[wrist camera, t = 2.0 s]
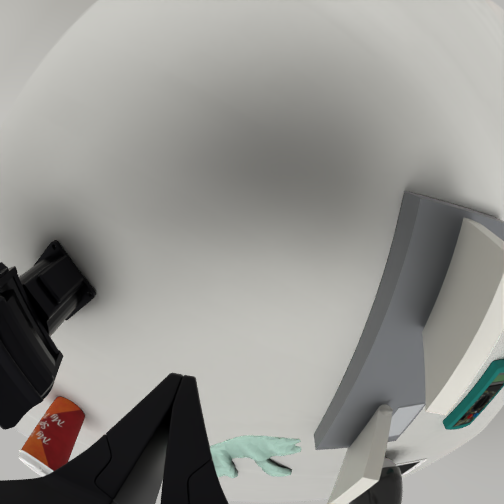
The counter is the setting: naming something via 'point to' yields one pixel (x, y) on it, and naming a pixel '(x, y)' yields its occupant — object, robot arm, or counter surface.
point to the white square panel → (464, 317)
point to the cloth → (253, 453)
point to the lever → (363, 459)
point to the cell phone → (409, 466)
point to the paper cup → (53, 437)
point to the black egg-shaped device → (384, 487)
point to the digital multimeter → (477, 397)
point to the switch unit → (399, 322)
